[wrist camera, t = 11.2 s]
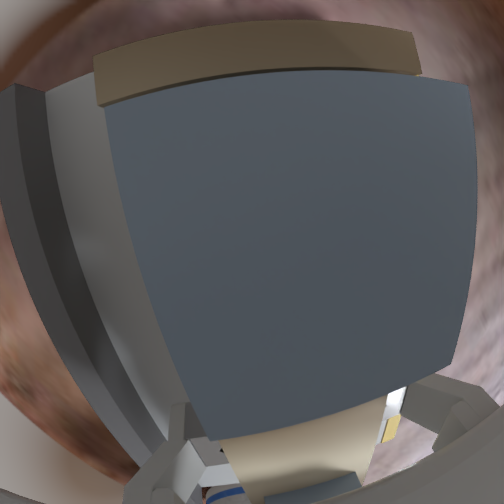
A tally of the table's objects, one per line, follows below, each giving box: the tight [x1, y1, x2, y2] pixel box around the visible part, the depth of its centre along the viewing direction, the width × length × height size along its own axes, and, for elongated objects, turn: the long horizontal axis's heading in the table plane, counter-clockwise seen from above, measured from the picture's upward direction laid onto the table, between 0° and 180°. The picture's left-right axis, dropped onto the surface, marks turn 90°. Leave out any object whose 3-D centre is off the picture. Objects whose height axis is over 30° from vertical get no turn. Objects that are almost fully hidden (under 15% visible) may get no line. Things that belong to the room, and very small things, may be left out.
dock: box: [0, 72, 419, 504], centre depth 12 cm, size 23×15×6 cm, turn 9°
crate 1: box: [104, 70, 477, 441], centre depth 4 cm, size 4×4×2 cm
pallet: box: [93, 20, 422, 504], centre depth 8 cm, size 19×5×4 cm, turn 9°
